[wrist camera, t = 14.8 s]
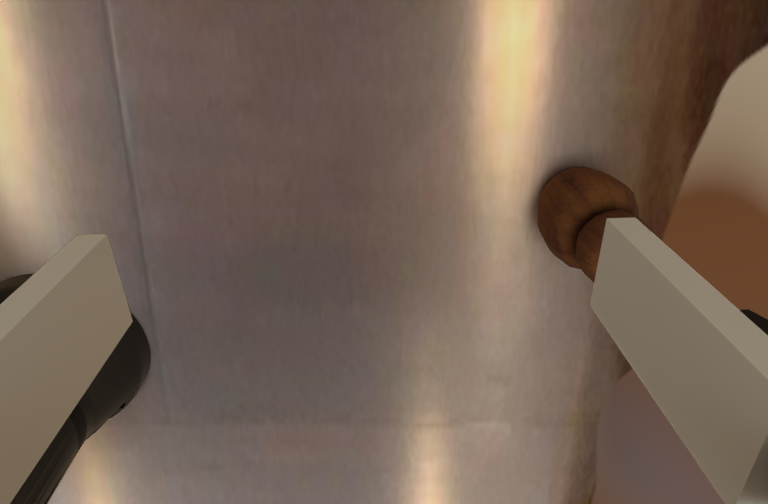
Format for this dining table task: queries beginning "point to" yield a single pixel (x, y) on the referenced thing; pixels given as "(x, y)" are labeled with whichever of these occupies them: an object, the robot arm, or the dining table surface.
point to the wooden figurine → (582, 214)
